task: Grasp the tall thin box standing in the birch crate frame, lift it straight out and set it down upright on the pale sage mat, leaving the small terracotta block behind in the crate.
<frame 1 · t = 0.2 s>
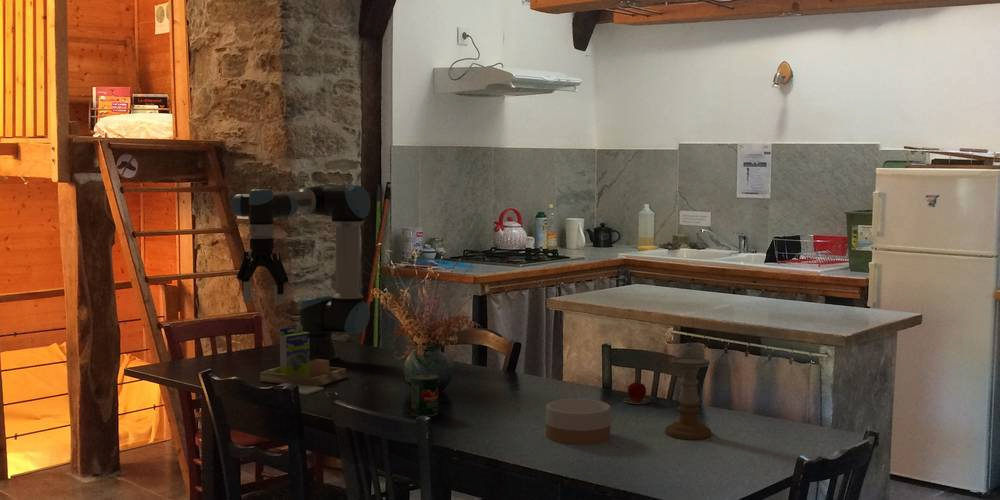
hand: (262, 303, 332), 27 cm above the table, fingers open, 13 cm apart
canned tomato: (424, 414, 299), on the table
terracotta block: (319, 381, 343), resting in crate frame
apple: (636, 403, 314), on the table
sage mat: (295, 389, 330), on the table
candle holder: (688, 434, 277), on the table
box: (295, 378, 347), resting in crate frame
brown round container: (577, 437, 275), on the table
crate frame: (303, 379, 346), on the table
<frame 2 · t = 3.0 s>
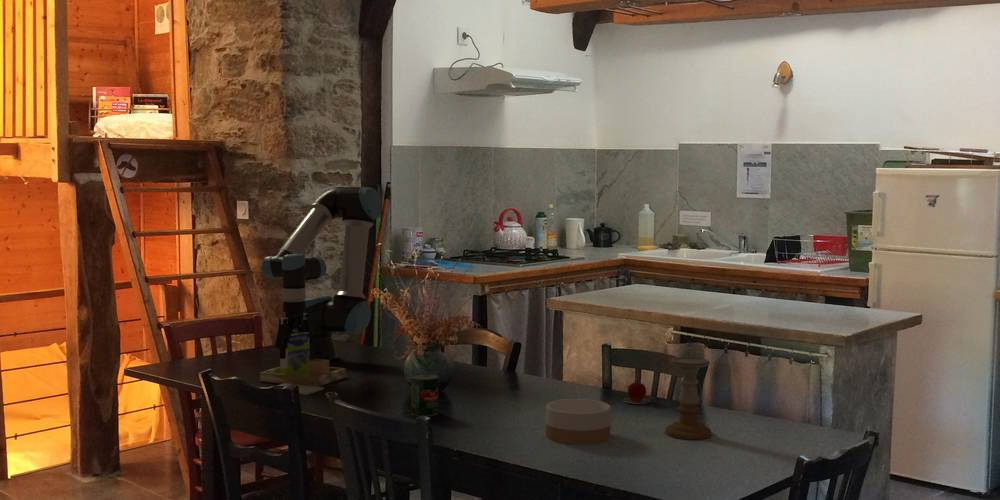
hand: (294, 365, 347), 4 cm above the table, fingers closed on box, 11 cm apart
box: (295, 378, 347), resting in crate frame, touching gripper
everything else where it was.
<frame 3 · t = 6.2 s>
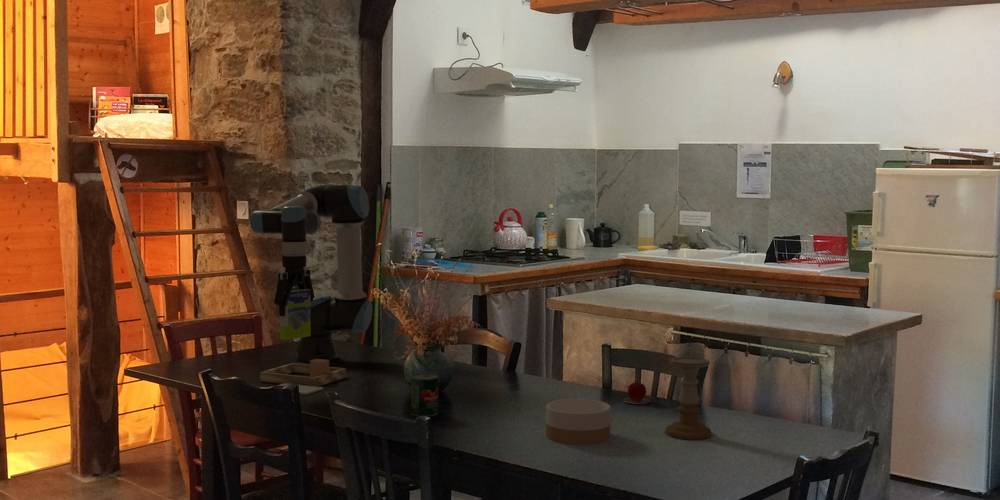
hand: (295, 323, 328), 21 cm above the table, fingers closed on box, 11 cm apart
box: (295, 338, 328), point 17 cm above the table, touching gripper
everything else where it was.
when the fingers open (6 cm above the table, at t = 9.5 s): box stays where it is, resting on sage mat.
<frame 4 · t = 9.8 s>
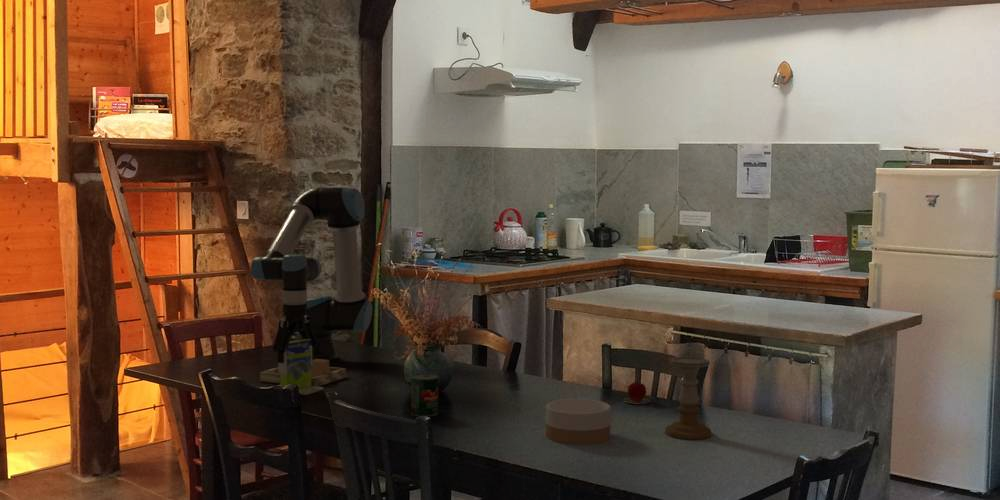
hand: (295, 369, 329), 7 cm above the table, fingers open, 13 cm apart
box: (296, 388, 330), resting on sage mat
everything else where it was.
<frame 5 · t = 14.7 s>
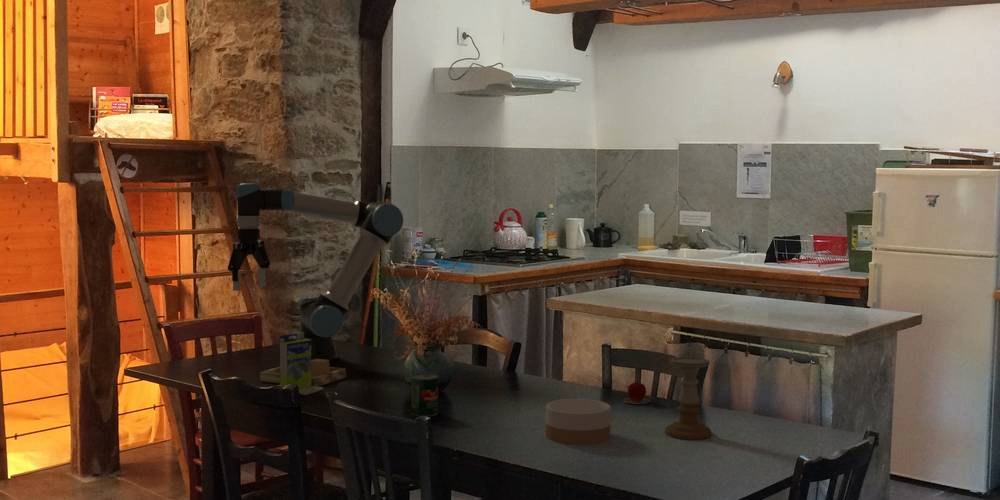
hand: (249, 288, 359), 29 cm above the table, fingers open, 13 cm apart
nothing on the table moved.
at the end: box inside the target area on the sage mat (0.1 cm from its centre), point 0.4 cm above the sage mat's base; box tilted 0°; the gripper is holding nothing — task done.
